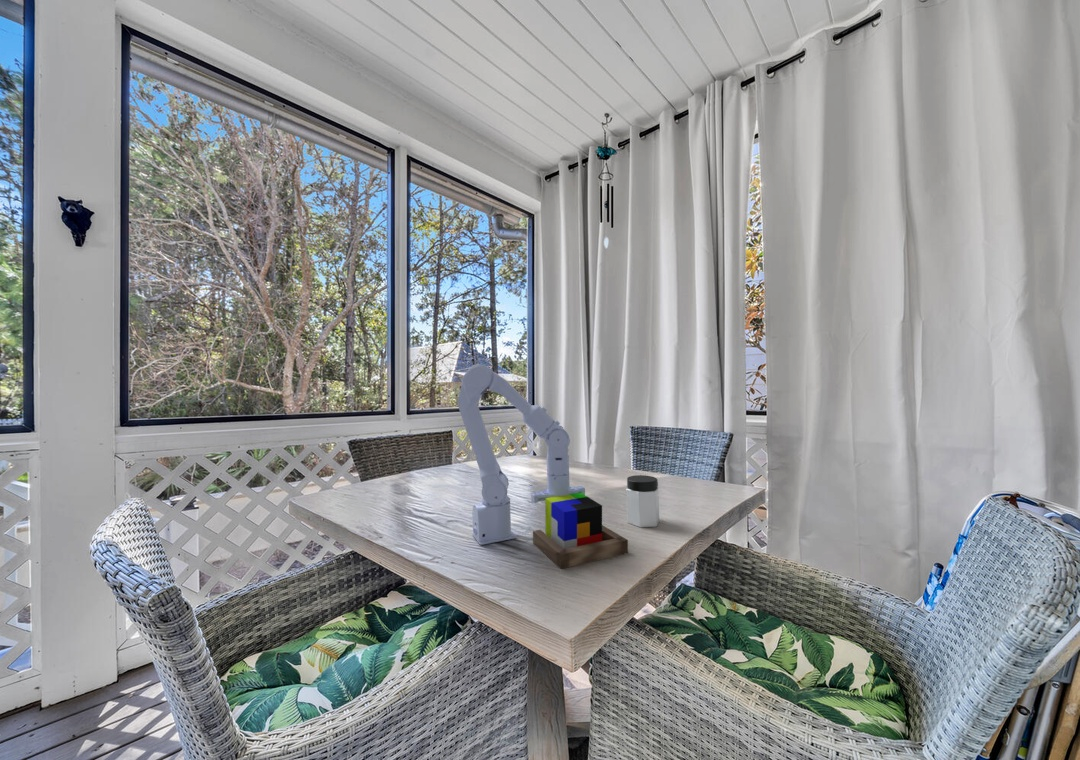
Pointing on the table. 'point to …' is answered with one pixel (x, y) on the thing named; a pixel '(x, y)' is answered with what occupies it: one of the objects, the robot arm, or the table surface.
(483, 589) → the table surface
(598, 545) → the walnut frame
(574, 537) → the puzzle toy
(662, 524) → the table surface
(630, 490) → the jar
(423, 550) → the table surface
